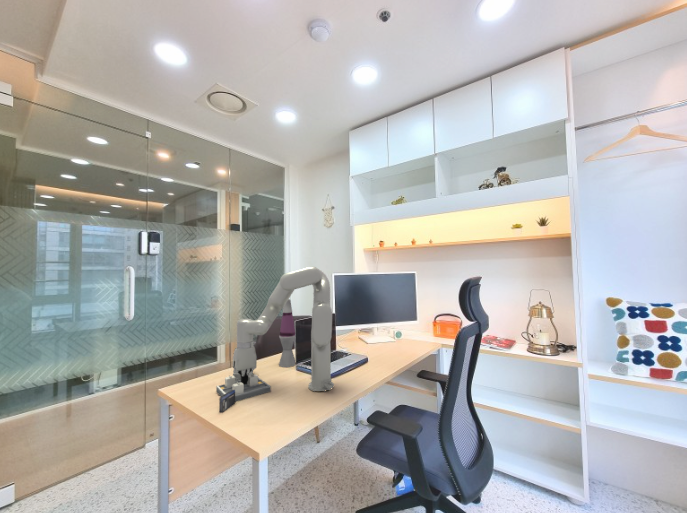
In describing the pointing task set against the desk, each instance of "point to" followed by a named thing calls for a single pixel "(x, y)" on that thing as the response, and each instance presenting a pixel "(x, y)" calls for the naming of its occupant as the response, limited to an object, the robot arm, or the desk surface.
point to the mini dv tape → (226, 401)
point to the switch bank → (246, 390)
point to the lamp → (287, 336)
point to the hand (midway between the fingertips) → (244, 383)
